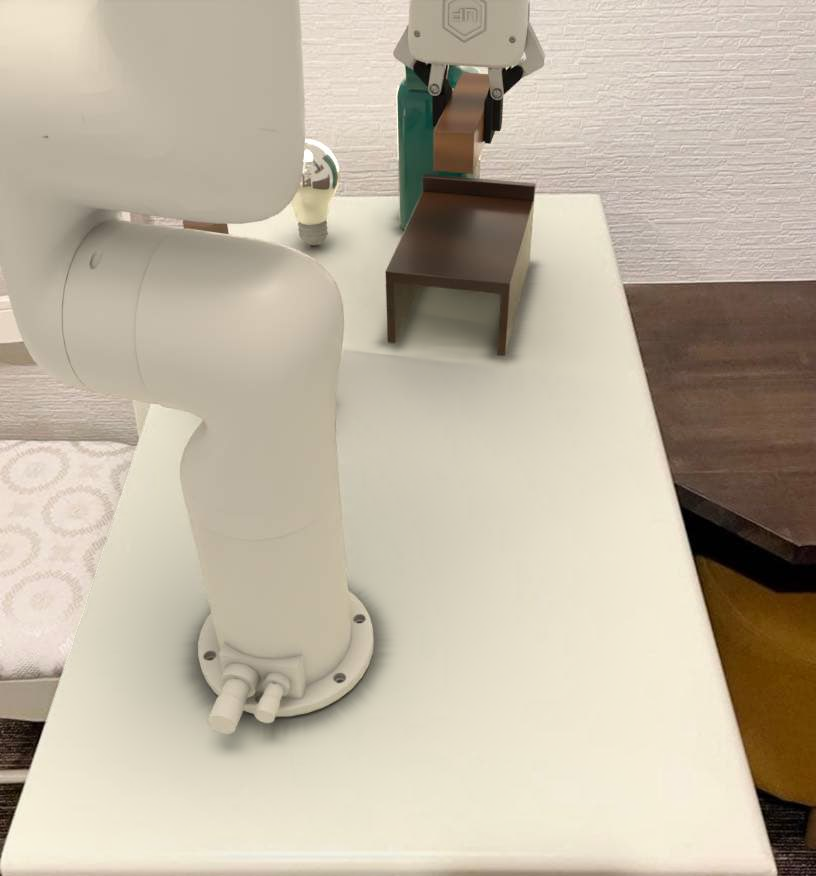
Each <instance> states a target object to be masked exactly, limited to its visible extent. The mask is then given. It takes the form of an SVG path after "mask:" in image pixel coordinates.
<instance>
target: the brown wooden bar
mask: <svg viewBox="0 0 816 876" xmlns="http://www.w3.org/2000/svg"><path fill="white" fill-rule="evenodd" d="M489 87H490V85H489V76H488V73H481V74H478V73H462V74H461V76H460V78H459V80H458V82H457V84H456V86H455V88H454V90H453V93H452V95H451V97H450V99H449V101H448V104H447V106H446V107H445V109H444V111H443V113H442V115H441V117H440V119H439V121H438V124H437V126H436V128H435V130H434V171H444V172H456V173H468V174H473V172H474V170H475V167H476V164H477V162H478V159H479V157H480V154H481V155H482V152H483V149H484V146H485V144H486V143H485V142H483V136H484V102H485V99H486V96H487V94H488V90H489Z"/></svg>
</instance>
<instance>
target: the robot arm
mask: <svg viewBox="0 0 816 876" xmlns="http://www.w3.org/2000/svg"><path fill="white" fill-rule="evenodd" d="M408 6H409V7H408V24H407V25H406V28H405V30H404V32H403V33H402V35H401V37H400V39H399V40H398V42H397V44H396V46H395V47H394V50H393V54H392V55H393V56H394V58H395V59H396V60H397V61H399V62H400V63H401V64H403V65H404V66H405V65H406V66H407V67H409V68H411V69H412V70H413V71H414V72H415V74H416V75H417V76H418V77H419V78H420V79H421V80H422V82H423V83H424V84H425V85H426V86H427V87H428V91H429V93H430V94H431V95H432V124H433V126H435V127H436V126H437V124H438V121H439V119H440V117H441V115H442V113H443V111H444V109H445V107H446V106H447V104H448V101H449V99H450V97H451V95H452V87H450V84H449V81H448V80H447V74H448V68H449V65H457V66H472V67H475V68H477V67H478V68H487V74H488V76H489V85H490V87H489V90H488V94H487V96H486V99H485V102H484V136H483V142H485V144H488V145H489V144H491V143H492V141H493V138H494V136H495V133H496V132H501V130H502V127H503V126H502V125H503V112H504V96H505V95H506V94H507V93H508V92H509V91H510V90H511V89H512V88H513V87H514V86H516V84H518V82H520V81H521V79H524V78H525V77H528V76H530V75H532V74H533V73H535V72H536V71H539V70H540V69H542V68H543V67H544V65H545V63H546V60H547V55H546V53H545V51H544V49H543V47H542V45H541V42H540V41H539V39H538V36H537V35H536V32H535V30H534V28H533V26H532V24H531V22H530V18H531V17H530V15H531V13H530V12H531V11H530V9H531V0H409V4H408ZM301 15H302V14H301V0H0V270H1V275H2V277H3V281H4V285H5V288H6V293H7V296H8V299H9V303H10V307H11V310H12V315H13V316H14V321H15V323H16V327H17V329H18V332H19V334H20V337H21V339H22V342H23V344H24V346H25V348H26V350H27V351H28V353H29V355H30V358H31V359H32V360H33V361H34V362H35V364H36V365H37V366H38V367H39V369H40V370H42V371H43V373H45V374H46V375H47V376H48V377H50V378H52V379H53V380H54V381H56V382H58V383H60V384H63V385H64V386H68V387H71V388H74V389H77V390H81V391H85V392H89V393H94V394H99V395H105V396H110V397H115V398H120V399H126V400H130V401H131V400H132V401H137V402H140V403H141V402H142V403H148V404H151V405H153V404H154V405H158V406H161V407H163V408H166V409H172V410H178V411H182V412H185V413H189V414H192V415H194V416H196V417H198V418H199V419H201V420H202V421H201V422H200V424H199V425H198V426H197V427H196V429H195V430H194V432H192V434H191V436H190V437H189V439H188V441H187V443H186V445H185V447H184V449H183V452H182V455H181V460H180V465H179V479H180V486H181V487H180V488H181V491H182V496H183V500H184V504H185V507H186V511H187V516H188V519H189V524H190V528H191V532H192V536H193V541H194V545H195V549H196V554H197V558H198V562H199V566H200V571H201V575H202V580H203V582H204V588H205V592H206V596H207V601H208V605H209V609H210V613H209V615H208V616H207V617H206V619H205V621H204V623H203V625H202V628H200V633H199V637H198V642H197V658H198V661H199V665H200V669H201V672H202V675H203V677H204V680H205V682H206V683H207V684H208V686H209V687H210V688H211V691H212V692H213V693H214V694H215V695H217V697H216V700H215V702H214V704H213V706H212V709H211V710H210V713H209V715H208V718H207V719H206V721H207V724H208V726H209V727H210V728H211V729H212V730H214V731H216V732H217V733H220V734H224V735H229V734H231V735H232V734H233V733H235V732H236V729H237V727H238V724H239V722H240V720H241V718H242V715H243V713H244V712H246V713H249V714H252V715H254V717H255V719H256V720H257V721H259V722H261V723H264V724H271V723H274V721H275V719H276V718H278V717H279V718H281V717H294V716H300V715H305V714H309V713H311V712H314V711H318V710H321V709H323V708H325V707H327V706H329V705H331V704H333V703H335V702H337V701H338V700H340V699H342V697H343V696H345V695H346V694H347V693H349V692H350V691H351V690H352V689H354V688H355V686H356V685H357V684H358V683H359V682H360V680H361V679H362V678H363V676H364V674H365V673H366V671H367V669H368V668H369V666H370V663H371V660H372V656H373V654H374V643H375V642H374V641H375V639H374V628H373V623H372V620H371V616H370V613H369V612H368V610H367V608H366V607H365V605H364V603H363V602H362V601H361V600H360V599H359V598H358V597H357V596H356V595H355V594H354V593H353V592H351V591H350V590H349V586H348V583H349V582H348V573H347V572H348V571H347V561H346V549H345V536H344V524H343V511H342V501H341V499H342V498H341V489H340V477H339V476H340V475H339V463H338V451H337V397H338V395H337V394H338V385H339V376H340V375H339V374H340V369H341V359H342V350H343V343H344V333H345V331H344V329H345V314H344V303H343V302H344V301H343V298H342V297H343V296H342V294H341V291H340V289H339V286H338V284H337V282H336V280H335V279H334V277H333V275H332V274H331V273H330V272H329V270H327V269H326V268H325V266H324V265H323V264H321V263H320V262H318V260H316V259H314V258H313V257H312V256H309V255H308V254H306V253H304V252H302V251H300V250H299V249H296V248H293V247H290V246H288V245H284V244H281V243H277V242H275V241H270V240H265V239H261V238H256V237H250V236H243V235H237V234H230V233H229V234H223V233H216V232H209V231H203V230H196V229H189V228H186V229H184V228H179V227H173V226H172V227H171V226H164V225H158V224H153V223H152V224H151V223H144V222H136V221H129V220H125V219H124V217H123V213H131V214H136V215H137V214H138V215H144V216H150V217H151V216H152V217H157V218H163V219H164V218H165V219H170V220H179V221H183V220H187V221H195V222H206V223H217V224H227V225H231V224H232V225H233V224H234V225H245V224H251V223H257V222H263V221H266V220H268V219H270V218H272V217H274V216H277V215H279V214H280V213H281V212H283V211H284V210H285V209H286V208H287V206H289V205H290V202H291V201H292V200H293V198H294V196H295V194H296V192H297V190H298V188H299V185H300V182H301V177H302V171H303V164H304V156H305V139H306V97H305V79H304V78H305V76H304V75H305V74H304V53H303V35H302V33H303V32H302V18H301V17H302V16H301ZM524 54H525V56H524ZM523 56H524V57H523Z"/></svg>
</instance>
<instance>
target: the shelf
mask: <svg viewBox="0 0 816 876" xmlns="http://www.w3.org/2000/svg"><path fill="white" fill-rule="evenodd" d="M535 196H536V183H535V182H524V181H513V180H512V181H511V180H503V179H501V180H499V179H488V178H480V179H478V178H466V177H454V176H443V175H431V174H424V175H423V192H422V194H421V196H420V198H419V200H418V203H417V205H416V207H415V209H414V211H413V213H412V215H411V218H410V220H409V222H408V224H407V226H406V228H405V229H404V231H403V233H402V235H401V238H400V239H399V241H398V243H397V246H396V249H395V250H394V252H393V254H392V256H391V259H390V260H389V263H388V265H387V266H386V270H385V300H386V305H385V306H386V330H387V331H386V332H387V333H386V334H387V336H386V337H387V343H390V344H396V343H397V340H398V338H399V335H400V333H401V330H402V328H403V325H404V323H405V320H406V318H407V316H408V313H409V311H410V308H411V306H412V303H413V300H414V298H415V296H416V294H417V291H418V288H419V286H420V287H430V288H440V289H448V290H458V291H469V292H477V293H486V294H487V293H489V294H498V295H500V301H499V302H500V304H499V321H498V336H497V337H498V338H497V355H498V356H506V354H507V350H508V346H509V343H510V339H511V336H512V331H513V328H514V324H515V322H516V321H515V320H516V317H517V313H518V309H519V306H520V301H521V297H522V294H523V290H524V286H525V283H526V279H527V276H528V273H529V272H528V271H529V267H530V261H531V260H530V259H531V258H530V257H531V248H532V247H531V246H532V237H533V236H532V233H533V221H534V210H535Z"/></svg>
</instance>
